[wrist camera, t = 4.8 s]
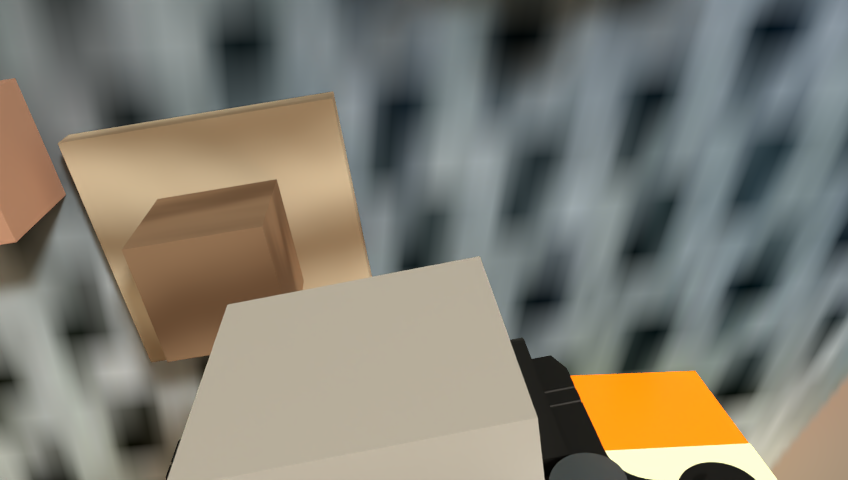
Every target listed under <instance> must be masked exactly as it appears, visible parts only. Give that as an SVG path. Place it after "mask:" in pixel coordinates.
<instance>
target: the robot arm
mask: <svg viewBox="0 0 848 480" xmlns="http://www.w3.org/2000/svg"><path fill="white" fill-rule="evenodd" d="M510 342H511V345H512V348H513V350H514V353H515V356H516V359H517V361H518V364H519V367H520V370H521V373H522V375H523V378H524V381H525V384H526V387H527V389H528V392H529V395H530V398H531V400H532V403H533V406H534V409H535V412H536V414H537V417H538V425H539V434H540V443H541V452H542V460H543V469H544V478H545V480H652V479H645V478H641V477H637V476H635V475H632V474H629V473H628V472H626V471H624V470H622V468H621V467H620V466H619V465H618V464H617V463H616V462H614V461H613V460H611V459H610V458H609V457H608V455H607V454H606V452H605V450H604V448H603V445H602V443H601V441H600V439H599V437H598V435H597V432H596V430H595V428H594V426H593V424H592V422H591V420H590V417H589V415H588V413H587V411H586V409H585V407H584V404H583V402H581V398H580V396H579V394H578V392H577V389H576V388H575V385H574V383H573V381H572V379H571V376H570V374H569V372H568V370H567V368H566V367H564V366H563V365H562V364H561V363H559V362H558V361H557V360H556V359H554V358H553V357H552V356H545V357H540V358H535V359H531V356H530V354H529V351H528V349H527V346H526V344H525V341H524V339H523V338H518V339H512V340H510ZM180 441H181V439H180V440H179V441H178V444H177V447H176V449H175V452H174V455H173V458H172V461H171V462H172V464H173V461H174V458H175V455H176V452H177V449H178V446H179V443H180ZM171 467H172V465H170V467H169V470H168V472H167V475H166V480H167V478H168V475H169V472H170V470H171ZM679 480H756V479H754V478H753V477H752V476H751V475H750V474H748V473H747V472H745V471H743V470H741V469H739V468H737V467H735V466H732V465H729V464H725V463H719V462H705V463H699V464H696V465H693V466H691V467H689V468H688V469H687V470H685V471H684V472H683V473H682V475H681V476H680V478H679Z"/></svg>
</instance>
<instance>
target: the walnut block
mask: <svg viewBox="0 0 848 480" xmlns="http://www.w3.org/2000/svg"><path fill="white" fill-rule="evenodd" d="M122 252H123V255H124V257H125V259H126V262H127V264H128V267H129V269H130V272H131V274H132V277H133V279H134V281H135V284H136V286H137V289H138V291H139V294H140V296H141V298H142V301H143V303H144V306H145V308H146V311H147V313H148V315H149V318H150V320H151V323H152V325H153V328H154V330H155V333H156V335H157V337H158V340H159V342H160V345H161V347H162V350H163V352H164V354H165V357H166V359H167V362H171V361H177V360H183V359H189V358H195V357H201V356H206V355H210V354H211V351H212V348H213V345H214V342H215V339H216V336H217V333H218V331H219V328H220V325H221V322H222V319H223V316H224V313H225V310H226V307H227V305H228V304H233V303H239V302H244V301H249V300H254V299H259V298H265V297H270V296H275V295H280V294H286V293H291V292H296V291H301V290H303V284H304V280H303V276H302V272H301V268H300V264H299V261H298V257H297V253H296V249H295V246H294V242H293V238H292V234H291V231H290V227H289V223H288V219H287V216H286V212H285V208H284V204H283V201H282V197H281V193H280V189H279V186H278V182H277V179H275V180H269V181H263V182H257V183H251V184H245V185H239V186H233V187H227V188H221V189H215V190H209V191H203V192H197V193H191V194H185V195H179V196H173V197H167V198H161V199H157V200H156V202H155V203H154V205H153V206H152V208H151V209H150V210H149V212H148V213H147V215H146V216H145V217H144V219H143V220H142V222H141V223H140V225H139V226H138V227H137V229H136V230H135V232H134V233H133V234H132V236H131V237H130V239H129V240H128V242H127V243H126V244H125V246H124V247H123V249H122Z"/></svg>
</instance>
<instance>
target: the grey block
mask: <svg viewBox="0 0 848 480" xmlns="http://www.w3.org/2000/svg"><path fill="white" fill-rule="evenodd" d="M167 480H545V478H544V469H543V460H542V452H541V443H540V434H539V425H538V417H537V414H536V412H535V409H534V406H533V403H532V400H531V398H530V395H529V392H528V389H527V387H526V384H525V381H524V378H523V375H522V373H521V370H520V367H519V364H518V361H517V359H516V356H515V353H514V350H513V348H512V345H511V342H510V339H509V336H508V334H507V331H506V328H505V325H504V322H503V320H502V317H501V314H500V311H499V309H498V306H497V303H496V300H495V297H494V295H493V292H492V289H491V286H490V284H489V281H488V278H487V275H486V272H485V270H484V267H483V264H482V261H481V258H480V256H479V257H474V258H468V259H463V260H458V261H453V262H448V263H442V264H437V265H432V266H427V267H421V268H416V269H411V270H406V271H401V272H395V273H390V274H385V275H380V276H374V277H369V278H364V279H359V280H353V281H348V282H343V283H338V284H333V285H327V286H322V287H317V288H312V289H306V290H301V291H296V292H291V293H286V294H280V295H275V296H270V297H265V298H259V299H254V300H249V301H244V302H239V303H233V304H228V305H227V307H226V310H225V313H224V316H223V319H222V322H221V325H220V328H219V331H218V333H217V336H216V339H215V342H214V345H213V348H212V351H211V354H210V357H209V359H208V362H207V365H206V368H205V371H204V374H203V377H202V380H201V383H200V386H199V388H198V391H197V394H196V397H195V400H194V403H193V406H192V409H191V412H190V415H189V417H188V420H187V423H186V426H185V429H184V432H183V435H182V438H181V441H180V443H179V446H178V449H177V452H176V455H175V458H174V461H173V464H172V467H171V470H170V472H169V475H168V478H167Z"/></svg>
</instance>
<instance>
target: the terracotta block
mask: <svg viewBox="0 0 848 480" xmlns="http://www.w3.org/2000/svg"><path fill="white" fill-rule="evenodd" d="M65 195H66V194H65V191H64V189H63V187H62V185H61V182H60V180H59V178H58V175H57V173H56V171H55V169H54V166H53V164H52V162H51V159H50V157H49V155H48V153H47V150H46V148H45V146H44V143H43V141H42V139H41V137H40V134H39V132H38V130H37V127H36V125H35V123H34V120H33V118H32V116H31V114H30V111H29V109H28V107H27V104H26V102H25V100H24V98H23V95H22V93H21V91H20V88H19V86H18V84H17V82H16V79H15V78H13V79H7V80H1V81H0V245H2V244H8V243H14V242H17V241H18V240H19V239H20V238H21V237H22V236H23V235H24V234H25V233H26V232H28V231H29V230H30V229H31V228H32V227H33V226H34V225H35V224H36V223H37V222H38V221H39V220H40V219H41V218H42V217H43V216H44V215H45V214H46V213H47V212H48V211H49V210H51V209H52V208H53V207H54V206H55V205H56V204H57V203H58V202H59V201H60V200H61V199H62V198H63V197H64V196H65Z"/></svg>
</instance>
